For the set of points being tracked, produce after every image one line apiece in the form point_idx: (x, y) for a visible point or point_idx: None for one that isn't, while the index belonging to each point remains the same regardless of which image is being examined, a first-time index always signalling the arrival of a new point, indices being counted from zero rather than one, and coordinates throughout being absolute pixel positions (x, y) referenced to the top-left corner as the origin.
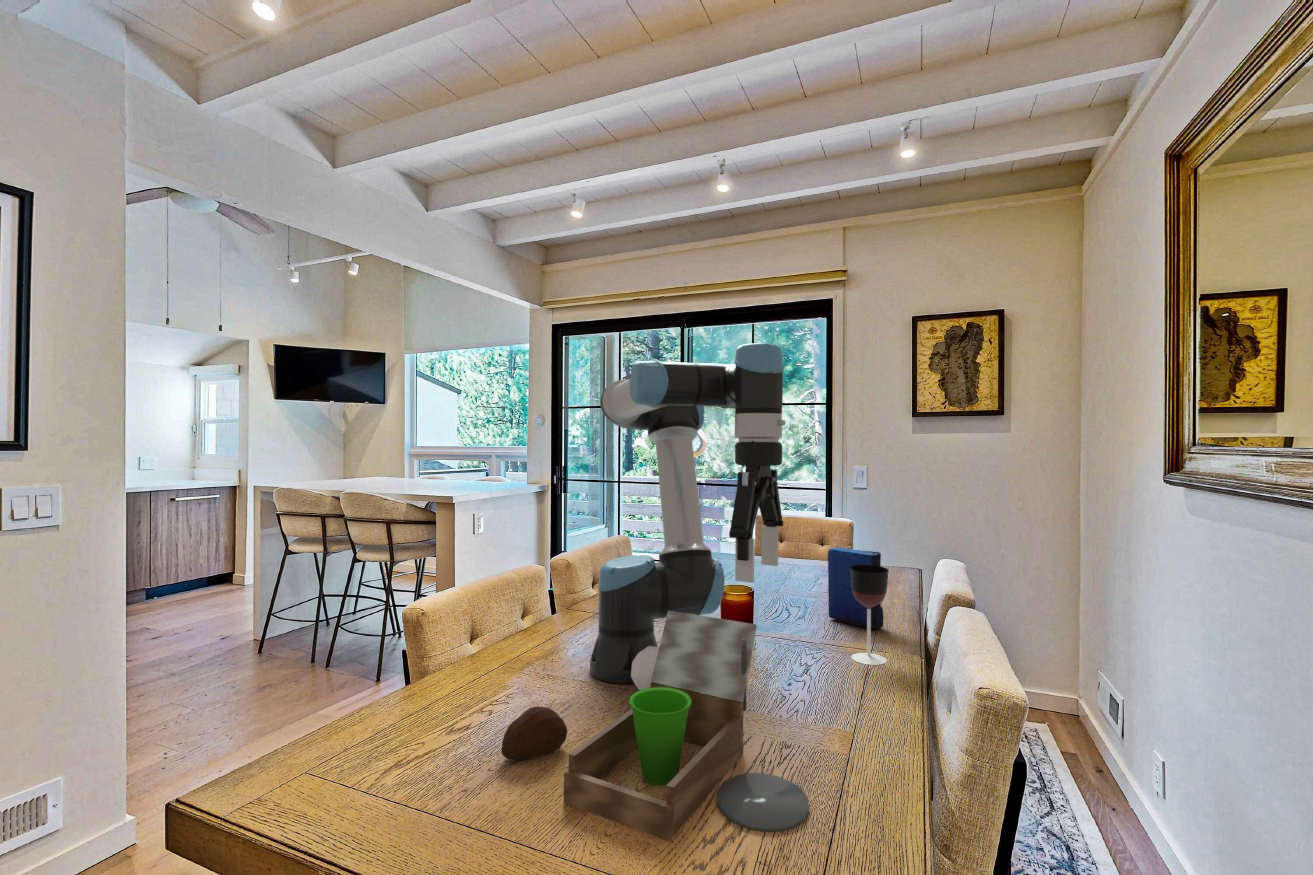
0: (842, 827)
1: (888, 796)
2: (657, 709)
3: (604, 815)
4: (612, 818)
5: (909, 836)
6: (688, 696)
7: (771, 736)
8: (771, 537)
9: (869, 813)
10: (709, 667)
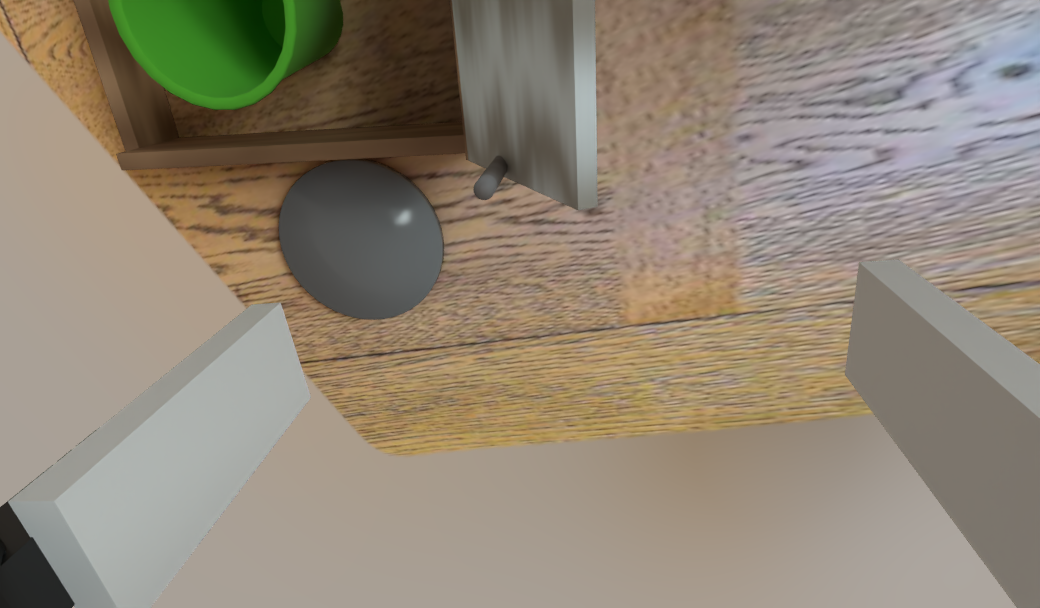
0: (388, 364)
1: (514, 405)
2: None
3: None
4: None
5: (428, 439)
6: (279, 72)
7: (619, 160)
8: (982, 493)
9: (449, 389)
10: (484, 26)
